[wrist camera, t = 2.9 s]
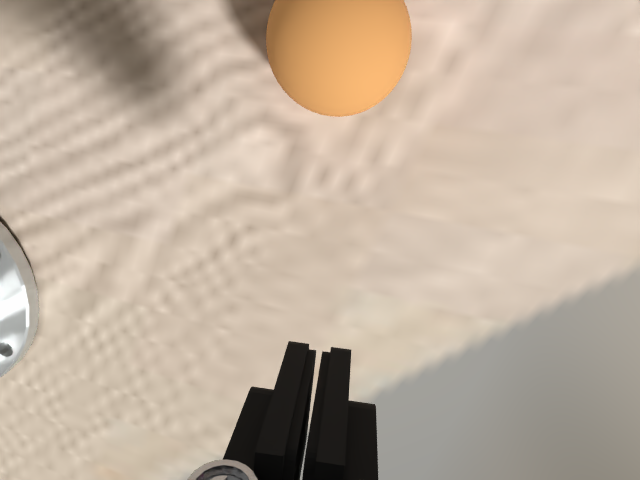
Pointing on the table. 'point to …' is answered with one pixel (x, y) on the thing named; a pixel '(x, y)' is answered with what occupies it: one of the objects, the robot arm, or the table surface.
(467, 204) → the table surface
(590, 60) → the table surface
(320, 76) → the ball
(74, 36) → the table surface
